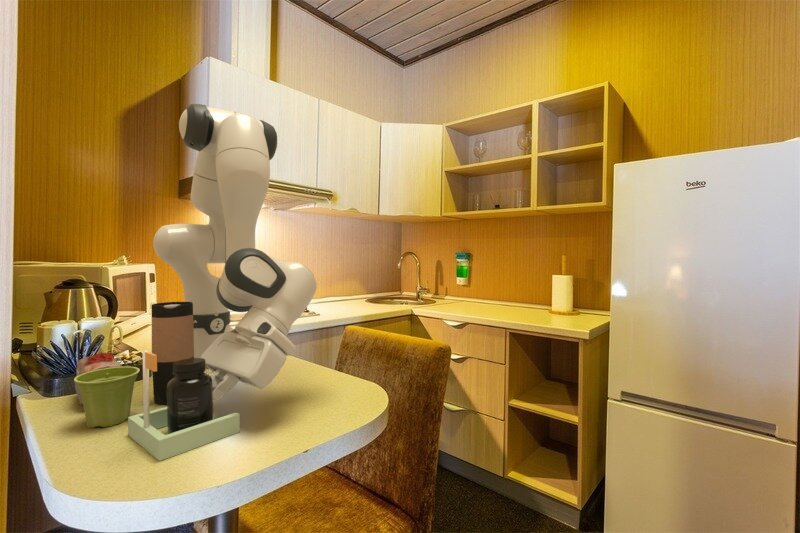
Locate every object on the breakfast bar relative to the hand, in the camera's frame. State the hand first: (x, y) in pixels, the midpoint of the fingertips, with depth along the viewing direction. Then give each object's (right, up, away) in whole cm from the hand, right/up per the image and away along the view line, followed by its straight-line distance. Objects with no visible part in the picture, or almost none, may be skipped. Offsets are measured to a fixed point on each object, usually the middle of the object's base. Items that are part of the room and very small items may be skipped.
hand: (210, 397), depth 68 cm
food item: (-29, -5, +13) cm, 32 cm away
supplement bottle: (-2, -5, -2) cm, 6 cm away
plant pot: (-19, -5, +2) cm, 20 cm away
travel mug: (-14, -5, +13) cm, 20 cm away
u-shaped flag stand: (-2, -5, -3) cm, 6 cm away
